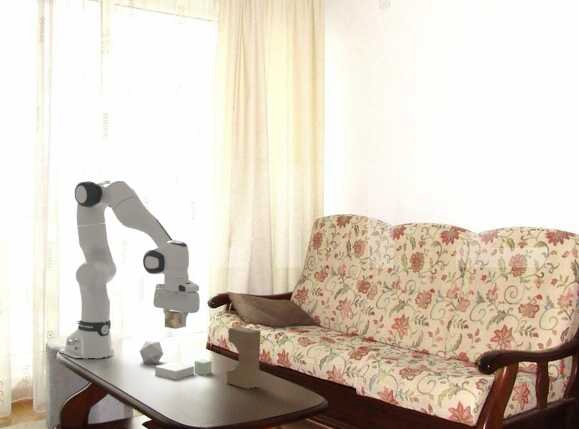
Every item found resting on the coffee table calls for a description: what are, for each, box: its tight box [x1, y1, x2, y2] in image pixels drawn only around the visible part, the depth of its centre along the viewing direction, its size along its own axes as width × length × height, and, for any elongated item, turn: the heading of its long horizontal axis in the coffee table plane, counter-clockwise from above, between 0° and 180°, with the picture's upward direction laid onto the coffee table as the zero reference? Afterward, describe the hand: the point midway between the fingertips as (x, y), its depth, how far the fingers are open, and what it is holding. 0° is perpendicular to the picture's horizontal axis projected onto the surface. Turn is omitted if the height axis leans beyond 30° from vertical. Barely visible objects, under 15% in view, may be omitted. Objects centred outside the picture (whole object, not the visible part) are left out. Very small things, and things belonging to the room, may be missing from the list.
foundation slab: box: [154, 361, 195, 380], centre depth 270 cm, size 10×10×3 cm
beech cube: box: [164, 310, 187, 330], centre depth 269 cm, size 6×6×6 cm
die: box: [139, 340, 164, 365], centre depth 286 cm, size 8×9×10 cm
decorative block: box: [226, 326, 261, 390], centre depth 259 cm, size 11×6×20 cm, turn 48°
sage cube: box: [194, 358, 213, 376], centre depth 274 cm, size 4×4×4 cm
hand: (175, 322), depth 269 cm, fingers closed on beech cube, 5 cm apart
